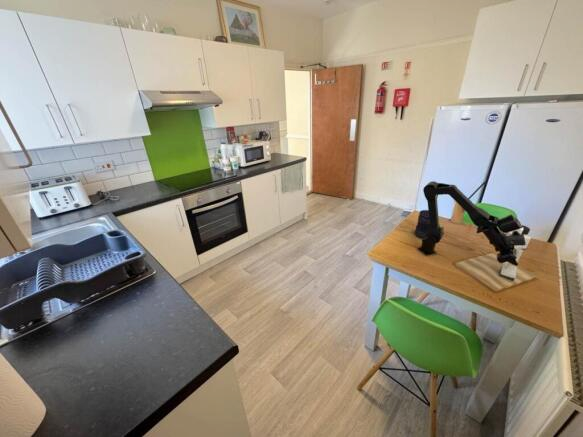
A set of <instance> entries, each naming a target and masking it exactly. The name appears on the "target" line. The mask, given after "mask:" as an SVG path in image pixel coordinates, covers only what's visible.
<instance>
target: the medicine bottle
mask: <svg viewBox="0 0 583 437" xmlns="http://www.w3.org/2000/svg"><path fill="white" fill-rule="evenodd" d="M521 225H522V228H521V229H518V230H515V231H518V232H519V233H520V234H523V235H524V238H525V243H526V245H524V246H521V245H517V246H514V249H515V248H519V249H522V250H525V249H527V247H528V246H529V243H530V242H531V239H532V237H531V236H529V233H530V231H531V228H530V227H529V226H526V225H523V224H521ZM512 232H513V231H512ZM512 232H508V233H506V234H505V235H506V236H510V234H511V235H512Z"/></svg>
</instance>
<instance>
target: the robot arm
mask: <svg viewBox="0 0 583 437" xmlns="http://www.w3.org/2000/svg"><path fill="white" fill-rule="evenodd" d="M422 192H423V195H424V198H425V200H426V201H427V202H426V203H427V210H428V212H429V224H430V228H429V232H428V233H427V234H426V235H425V237H424V238H423V239H421V244H420V247H418V248H417V250H418V251H419V252H421V253H422V254H423V255H425V256H429V255H434V254H436V253H437V252H436V251H435V248H436V245H437V244H439V243H440V241H441V240H442V239H443V237H444V235H445V232H444V228H445V226H440V220H439V206H438V205H439V204H438V199H439V198H438V197H439V196H443V195H448V196H450V197H451V198H452V199H454V200H455V201H456V202H457V203H458V204H459V205H460V206H461V207H462V208H463V209H464V210H465V211H466V214H467V215H468V217H469V219H470V220H471V222H472V224H473V225H474V226H475V227H477V228H476V232H475V233H476V234H480V233H482V234H483V235H484V236H485V238H486V239H487V240H488V242H489V245H492V246H493V248H494V251H495V252H498V253H496V255H497V260H498V262H499V263H504V262H509V263H511V264H513V265H515V266H519V263H518V262H517V261H516V252H515V251H514V250H515V248H514V246H517V245H521V246H524V245H526V243H525V238H524V235H523V234H520V233H519V232H518V231H515V230H518V229H521V228H522V225H523V224H522V223H521V221H520V220H519V218H517V217H516V216H515V215H513V214H512V213H510V214H508V215H506V216H504V217H501V218H499V217H498V216H495V215H492V214H490V213H489V212H488V211H486V210H485V209H483V208H481V207H480V206H477V205H476V204H474V203H473V201H472V200H471V199H468V198H469V197H468V196H466V195H465V194H464V193H463V191H461V190H460V189H459V188H458V187H457V185H455V184H448V183H443V182H437V181H435V180H434V181H433V180H432V181H428V183H427V184H426V185H425V186H423V190H422ZM454 200H453V201H454ZM470 200H471V201H472V202H471V201H470ZM512 231H513V232H512ZM508 232H512V235H511V234H510V236H506V235H507V233H508Z"/></svg>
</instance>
